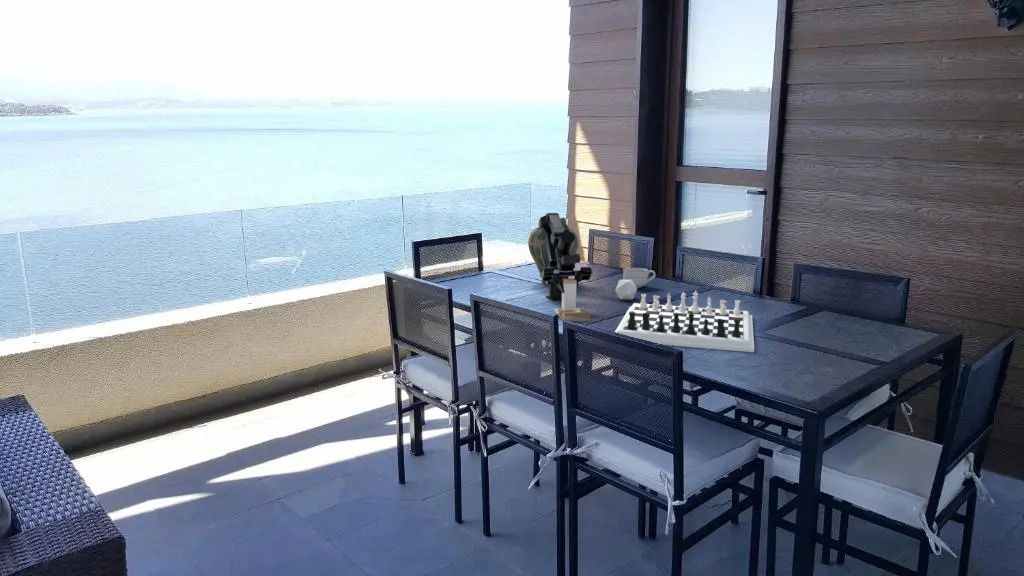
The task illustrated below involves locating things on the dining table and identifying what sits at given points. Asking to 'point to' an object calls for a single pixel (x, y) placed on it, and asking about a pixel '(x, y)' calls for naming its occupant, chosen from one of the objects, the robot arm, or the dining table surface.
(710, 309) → the chess set
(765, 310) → the dining table surface
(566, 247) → the robot arm
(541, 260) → the vase
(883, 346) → the dining table surface
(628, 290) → the die
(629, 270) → the teacup
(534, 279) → the dining table surface
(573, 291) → the block
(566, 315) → the tray
